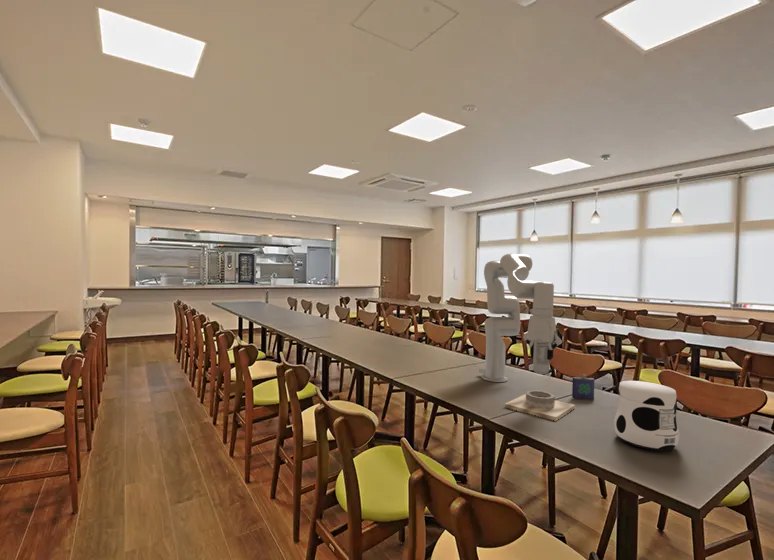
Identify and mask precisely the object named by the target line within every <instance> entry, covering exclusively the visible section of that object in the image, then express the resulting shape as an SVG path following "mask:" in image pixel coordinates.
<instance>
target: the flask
mask: <svg viewBox="0 0 774 560" xmlns="http://www.w3.org/2000/svg"><path fill="white" fill-rule="evenodd" d="M571 384H572V386H571V387H572V390H571V392H572V393H571V397H572V399H573V398H575V399H574V400H580V399H594V400H595V378H593V377H587V375H586V374H585V373H583V374H582V376H575V377H574V376H573V377H572V383H571Z"/></svg>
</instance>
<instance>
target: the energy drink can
mask: <svg viewBox="0 0 774 560" xmlns="http://www.w3.org/2000/svg"><path fill="white" fill-rule="evenodd" d="M548 350H549V347H548V343H545V342H543V341H542V340H541V339H536V341H534V354H533V357H532V361H533V362H532V370H533V371H534V373H536V374H540V375H548V373H549V372H550V361H551V360H547V351H548Z"/></svg>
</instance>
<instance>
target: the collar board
mask: <svg viewBox="0 0 774 560" xmlns="http://www.w3.org/2000/svg"><path fill="white" fill-rule="evenodd" d="M504 408H505V409H508V408H509V410H512V409H513V411H516V410H517V412H520V411H521V412H520V413H523V412H525V413H524V414H527V413H529V414H528V415H531V414H533V415H532V416H534V415H536V417H538V416H539V418H542V417H543V419H546V420H549V419H550V420H549V421H553V420H554V421H553V422H557V421H559V420H560V419H561V417H562V418H563V417H564V415H565V416H566V415H568V414H569V413H571V412H572V411H573V409H574V408H576V405H575V404H573V403H568V402H565V401H564V402H563V401H560V400H556V397H555V395H554V393H553V394H552V393H550V392H548V391H544V390H536V389H535V390H533V389H532V390H527V391H526V392H525V394H522V395H520V396H518V397H516V398H513V399H512V400H509V401H508V402H505V403H504ZM571 410H572V411H571ZM574 410H575V409H574ZM570 411H571V412H570ZM567 413H568V414H567ZM558 419H559V420H558Z"/></svg>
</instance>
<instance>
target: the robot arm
mask: <svg viewBox="0 0 774 560" xmlns="http://www.w3.org/2000/svg"><path fill="white" fill-rule="evenodd" d="M532 267H533V260H532V258H531V256H530V255H528V254H526V253H525V254H524V253H507V254H504V255H502V257H501V258H500V260H491V261H487V262H486V263H485V265H484V270H483V276H484V280H485V281H484V282H485V284H486V297H487V300H486V302H487V311H488V312H489V313H490V314H493V315H507V316H492V317H491V316H490V317H488V318H487V319H485V322H484V330H485V365H484V366H485V368H483V367H479V369H478V373H481V374H482V375H481V378H482V379H483V380H485V381H487V382H492V383H505V382H507V381H508V377H507V376H506V375H505V374H506V373H505V372H506V343H505V341H504V339H503V338H502V337H505V336H507V337H510V336H511V337H512V336H513V337H514V336H518V335H519V333H520V331H521V308H520V307H521V305H520V301H519V300H518V299H521V300H522V299H523V300H525V299H527V300H532V308H530V309H529V313H531V315H530V316H529V321H528V328H527V332H526V333H525V334H524V335H523V336H522V338H523V340H524V341H525V342H526V344H527V345H528V347H529V355H530V358H533V354H534V341H536V339H541V340H542V341H543V342H545V343H548V347H549V350H548V351H547V360H550V361H551V360H552V359H553V358H554V350H555V349H556V348H557V347H558V346H559V345H561V344H562V343H563V340H562V339H561V338H560V337H559V336H558V334H557V323H556V318H555V317H554V296H555V295H554V293H555V291H554V290H555V289H554V288H555V284H554V283H553V282H551V281H542V280H541V281H540V280H527V278H528V277H529V275H530V271H531V269H532ZM500 278H501V279H502V278H503V279H507V280H506V281H507V288H508V291H509V292H510V293H511V295H505V286H504V283H503V282H502V281H501V279H500Z"/></svg>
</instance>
